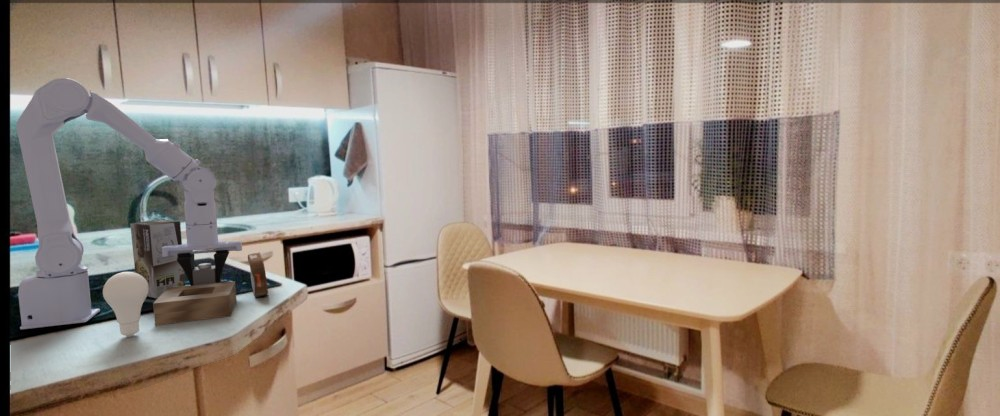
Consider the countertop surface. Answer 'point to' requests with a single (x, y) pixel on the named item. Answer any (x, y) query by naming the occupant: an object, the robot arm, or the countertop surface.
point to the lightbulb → (126, 299)
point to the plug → (204, 274)
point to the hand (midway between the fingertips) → (206, 286)
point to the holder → (195, 303)
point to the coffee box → (157, 254)
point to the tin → (258, 275)
